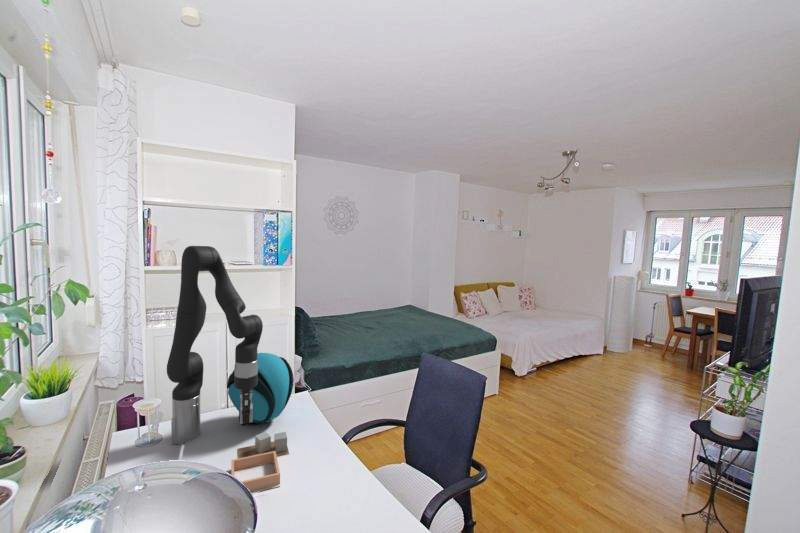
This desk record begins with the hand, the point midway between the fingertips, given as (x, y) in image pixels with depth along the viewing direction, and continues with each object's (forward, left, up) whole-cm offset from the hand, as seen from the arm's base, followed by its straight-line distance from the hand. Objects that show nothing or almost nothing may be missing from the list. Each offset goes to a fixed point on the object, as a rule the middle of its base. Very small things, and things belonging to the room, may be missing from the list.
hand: (245, 419), depth 125 cm
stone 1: (0, 0, 0) cm, 0 cm away
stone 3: (+12, 0, -14) cm, 18 cm away
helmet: (+7, +24, -15) cm, 29 cm away
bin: (+2, -12, -15) cm, 19 cm away
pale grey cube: (+6, +2, -14) cm, 15 cm away
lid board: (+6, +1, -15) cm, 16 cm away
